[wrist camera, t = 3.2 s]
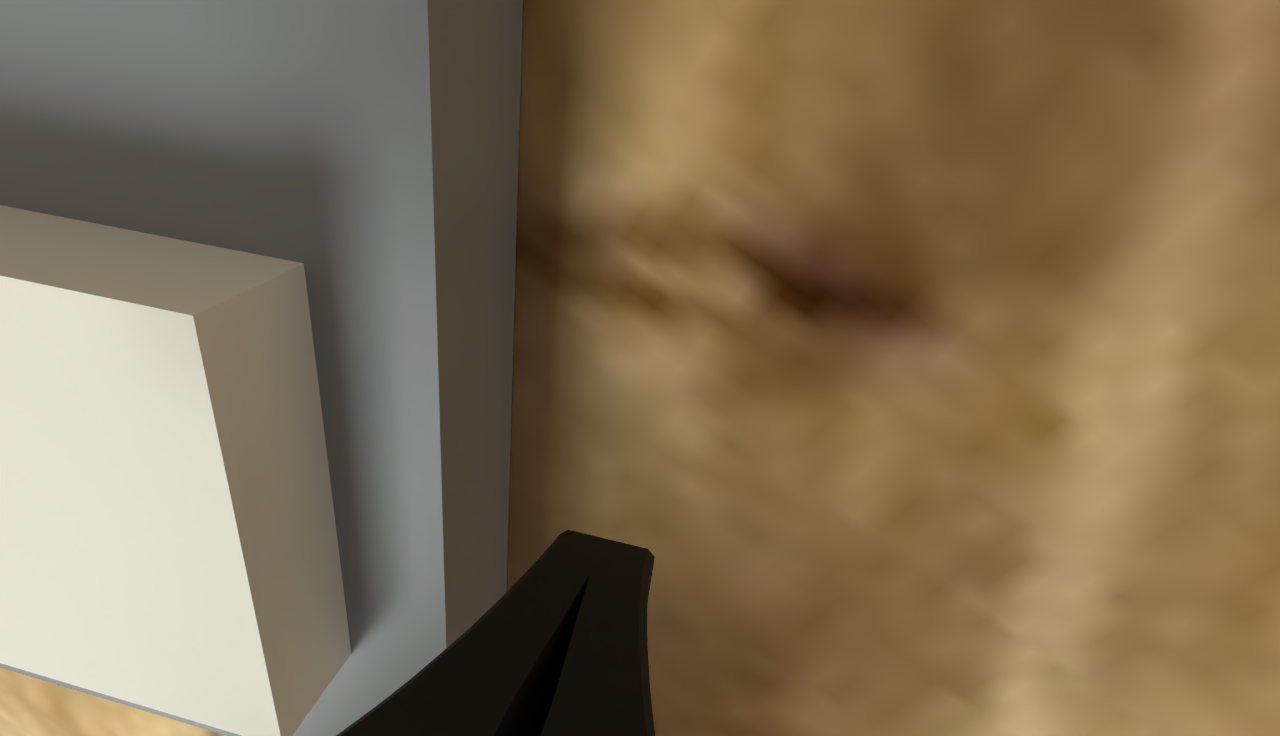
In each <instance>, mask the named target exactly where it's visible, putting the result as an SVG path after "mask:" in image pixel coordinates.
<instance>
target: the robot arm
mask: <svg viewBox="0 0 1280 736" xmlns="http://www.w3.org/2000/svg"><path fill="white" fill-rule="evenodd" d="M654 558H655V557H654V556H653V555H652V553H651V552H650V551H649V549H646V548H641V547H637V546H633V545H629V544H625V543H620V542H616V541H612V540H608V539H604V538H600V537H595V536H591V535H587V534H583V533H579V532H574V531H570V530H567V531H565V532H563V533H562V534H560V535H559V536H558V537H557V539H556V540H555V541H554V542H553V543H552V545H551V546H550V547H549V548H548V549H547V550H546V551H545V552H544V554H543V555H542V556H541V557H540V558H539V559H538V560H537V561H536V562H535V564H534V565H533V566H532V567H531V568H530V569H529V570H528V571H527V572H526V573H525V574H524V575H523V576H522V577H521V578H520V579H519V580H518V581H517V582H516V583H515V584H514V585H513V586H512V588H511V589H510V590H509V591H508V592H507V593H506V594H505V595H504V596H502V597H501V598H500V599H499V600H498V601H497V602H496V603H495V604H494V605H493V606H492V607H491V608H490V609H489V610H488V611H487V612H486V613H485V614H484V615H483V616H482V617H481V618H480V619H478V620H477V621H476V622H475V623H474V624H473V625H472V626H471V627H470V628H469V629H468V630H467V631H466V632H465V633H463V634H462V635H461V636H460V637H459V638H458V639H457V640H456V641H454V642H453V643H452V644H451V645H450V646H449V647H447V648H446V649H445V650H444V651H443V652H442V653H440V654H439V655H438V656H437V657H436V658H435V659H433V660H432V661H431V662H430V663H429V664H428V665H426V666H425V667H424V668H423V669H422V670H421V671H420V672H418V673H417V674H416V675H415V676H414V677H412V678H411V679H410V680H409V681H407V682H406V683H405V684H404V685H402V686H401V687H400V688H399V689H397V690H396V691H395V692H394V693H392V694H391V695H390V696H389V697H387V698H386V699H385V700H383V701H382V702H381V703H379V704H378V705H377V706H376V707H374V708H373V709H372V710H370V711H369V712H367V713H366V714H365V715H363V716H362V717H361V718H359V719H358V720H357V721H355V722H354V723H353V724H351V725H350V726H349V727H347V728H346V729H345V730H343V731H342V732H340V733H339V734H338V735H336V736H655V730H654V722H653V714H652V705H651V694H650V682H649V666H648V650H647V601H648V595H649V589H650V582H651V576H652V570H653V564H654Z"/></svg>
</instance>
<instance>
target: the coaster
mask: <svg viewBox="0 0 1280 736" xmlns="http://www.w3.org/2000/svg"><path fill="white" fill-rule="evenodd" d="M350 655H351V646H350V638H349V629H348V621H347V613H346V605H345V597H344V589H343V580H342V572H341V564H340V556H339V548H338V540H337V531H336V523H335V515H334V507H333V499H332V490H331V482H330V474H329V466H328V458H327V450H326V441H325V433H324V425H323V417H322V409H321V401H320V392H319V384H318V376H317V368H316V360H315V352H314V343H313V335H312V327H311V319H310V311H309V303H308V294H307V286H306V278H305V270H304V263H299V262H294V261H289V260H284V259H278V258H273V257H268V256H263V255H257V254H252V253H247V252H242V251H237V250H231V249H226V248H221V247H216V246H211V245H205V244H200V243H195V242H190V241H185V240H179V239H174V238H169V237H164V236H158V235H153V234H148V233H143V232H138V231H132V230H127V229H122V228H117V227H112V226H106V225H101V224H96V223H91V222H85V221H80V220H75V219H70V218H65V217H59V216H54V215H49V214H44V213H39V212H33V211H28V210H23V209H18V208H12V207H7V206H2V205H0V663H1V664H5V665H8V666H11V667H15V668H18V669H21V670H25V671H28V672H31V673H35V674H38V675H41V676H45V677H48V678H51V679H55V680H58V681H61V682H65V683H68V684H71V685H75V686H78V687H81V688H85V689H88V690H91V691H95V692H98V693H101V694H105V695H108V696H111V697H115V698H118V699H121V700H125V701H128V702H131V703H135V704H138V705H141V706H145V707H148V708H151V709H155V710H158V711H161V712H165V713H168V714H171V715H175V716H178V717H181V718H185V719H188V720H191V721H195V722H198V723H201V724H205V725H208V726H211V727H215V728H218V729H221V730H225V731H228V732H231V733H235V734H238V735H241V736H292V735H293V734H294V732H295V731H296V730H297V728H298V727H299V725H300V724H301V723H302V721H303V720H304V719H305V717H306V716H307V714H308V713H309V712H310V710H311V709H312V708H313V706H314V705H315V703H316V702H317V701H318V699H319V698H320V696H321V695H322V694H323V692H324V691H325V690H326V688H327V687H328V685H329V684H330V683H331V681H332V680H333V679H334V677H335V676H336V674H337V673H338V672H339V670H340V669H341V667H342V666H343V665H344V663H345V662H346V661H347V659H348V658H349V656H350Z"/></svg>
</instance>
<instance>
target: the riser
mask: <svg viewBox="0 0 1280 736" xmlns="http://www.w3.org/2000/svg"><path fill="white" fill-rule="evenodd" d="M522 22H523V0H0V205H2V206H7V207H12V208H18V209H23V210H28V211H33V212H39V213H44V214H49V215H54V216H59V217H65V218H70V219H75V220H80V221H85V222H91V223H96V224H101V225H106V226H112V227H117V228H122V229H127V230H132V231H138V232H143V233H148V234H153V235H158V236H164V237H169V238H174V239H179V240H185V241H190V242H195V243H200V244H205V245H211V246H216V247H221V248H226V249H231V250H237V251H242V252H247V253H252V254H257V255H263V256H268V257H273V258H278V259H284V260H289V261H294V262H299V263H304V270H305V278H306V286H307V294H308V303H309V311H310V319H311V327H312V335H313V343H314V352H315V360H316V368H317V376H318V384H319V392H320V401H321V409H322V417H323V425H324V433H325V441H326V450H327V458H328V466H329V474H330V482H331V490H332V499H333V507H334V515H335V523H336V531H337V540H338V548H339V556H340V564H341V572H342V580H343V589H344V597H345V605H346V613H347V621H348V629H349V638H350V646H351V655H350V656H349V658H348V659H347V661H346V662H345V663H344V665H343V666H342V667H341V669H340V670H339V672H338V673H337V674H336V676H335V677H334V679H333V680H332V681H331V683H330V684H329V685H328V687H327V688H326V690H325V691H324V692H323V694H322V695H321V696H320V698H319V699H318V701H317V702H316V703H315V705H314V706H313V708H312V709H311V710H310V712H309V713H308V714H307V716H306V717H305V719H304V720H303V721H302V723H301V724H300V725H299V727H298V728H297V730H296V731H295V732H294V734H293V735H292V736H336V735H338V734H339V733H340V732H342V731H343V730H345V729H346V728H347V727H349V726H350V725H351V724H353V723H354V722H355V721H357V720H358V719H359V718H361V717H362V716H363V715H365V714H366V713H367V712H369V711H370V710H372V709H373V708H374V707H376V706H377V705H378V704H379V703H381V702H382V701H383V700H385V699H386V698H387V697H389V696H390V695H391V694H392V693H394V692H395V691H396V690H397V689H399V688H400V687H401V686H402V685H404V684H405V683H406V682H407V681H409V680H410V679H411V678H412V677H414V676H415V675H416V674H417V673H418V672H420V671H421V670H422V669H423V668H424V667H425V666H426V665H428V664H429V663H430V662H431V661H432V660H433V659H435V658H436V657H437V656H438V655H439V654H440V653H442V652H443V651H444V650H445V649H446V648H447V647H449V646H450V645H451V644H452V643H453V642H454V641H456V640H457V639H458V638H459V637H460V636H461V635H462V634H463V633H465V632H466V631H467V630H468V629H469V628H470V627H471V626H472V625H473V624H474V623H475V622H476V621H477V620H478V619H480V618H481V617H482V616H483V615H484V614H485V613H486V612H487V611H488V610H489V609H490V608H491V607H492V606H493V605H494V604H495V603H496V602H497V601H498V600H499V599H500V598H501V597H502V596H504V595H505V594H506V592H507V556H508V521H509V485H510V449H511V414H512V378H513V342H514V307H515V271H516V236H517V200H518V164H519V129H520V93H521V57H522ZM0 667H1V668H4V669H8V670H11V671H14V672H18V673H21V674H24V675H27V676H31V677H34V678H37V679H41V680H44V681H47V682H51V683H54V684H57V685H61V686H64V687H67V688H71V689H74V690H77V691H81V692H84V693H87V694H91V695H94V696H97V697H101V698H104V699H107V700H110V701H114V702H117V703H120V704H124V705H127V706H130V707H134V708H137V709H140V710H144V711H147V712H150V713H154V714H157V715H160V716H164V717H167V718H170V719H174V720H177V721H180V722H184V723H187V724H190V725H193V726H197V727H200V728H203V729H207V730H210V731H213V732H217V733H220V734H223V735H227V736H241V735H238V734H235V733H231V732H228V731H225V730H221V729H218V728H215V727H211V726H208V725H205V724H201V723H198V722H195V721H191V720H188V719H185V718H181V717H178V716H175V715H171V714H168V713H165V712H161V711H158V710H155V709H151V708H148V707H145V706H141V705H138V704H135V703H131V702H128V701H125V700H121V699H118V698H115V697H111V696H108V695H105V694H101V693H98V692H95V691H91V690H88V689H85V688H81V687H78V686H75V685H71V684H68V683H65V682H61V681H58V680H55V679H51V678H48V677H45V676H41V675H38V674H35V673H31V672H28V671H25V670H21V669H18V668H15V667H11V666H8V665H5V664H1V663H0Z"/></svg>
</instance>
